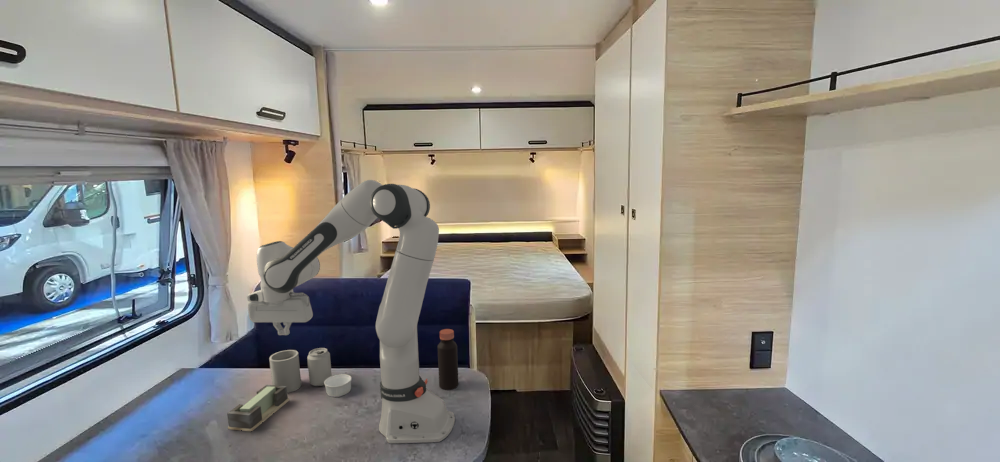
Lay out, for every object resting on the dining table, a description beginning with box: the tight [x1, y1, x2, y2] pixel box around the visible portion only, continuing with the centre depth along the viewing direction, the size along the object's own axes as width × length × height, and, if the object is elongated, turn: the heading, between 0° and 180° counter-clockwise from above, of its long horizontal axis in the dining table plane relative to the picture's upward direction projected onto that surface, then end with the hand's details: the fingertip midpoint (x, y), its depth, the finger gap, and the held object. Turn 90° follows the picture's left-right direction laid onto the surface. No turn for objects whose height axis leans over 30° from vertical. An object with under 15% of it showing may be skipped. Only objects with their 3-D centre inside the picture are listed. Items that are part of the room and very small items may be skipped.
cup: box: [268, 349, 302, 394], centre depth 152 cm, size 9×9×12 cm
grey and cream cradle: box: [226, 384, 290, 432], centre depth 136 cm, size 8×17×5 cm, turn 170°
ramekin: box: [323, 373, 352, 398], centre depth 150 cm, size 9×9×4 cm
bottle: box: [437, 328, 459, 391], centre depth 150 cm, size 7×7×20 cm
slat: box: [240, 387, 276, 414], centre depth 136 cm, size 3×13×5 cm, turn 175°
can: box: [306, 347, 333, 387], centre depth 156 cm, size 8×8×12 cm
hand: (284, 334), depth 138 cm, fingers closed
